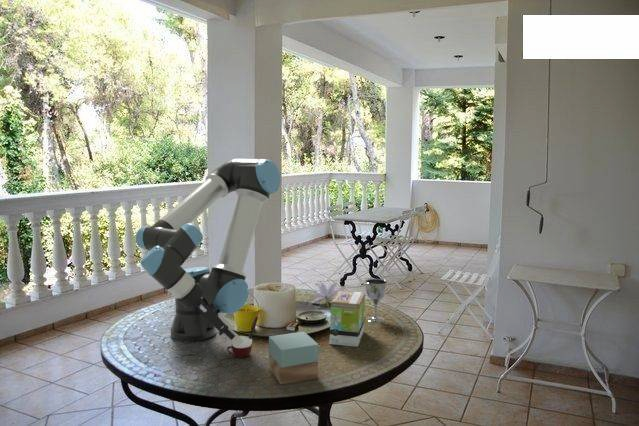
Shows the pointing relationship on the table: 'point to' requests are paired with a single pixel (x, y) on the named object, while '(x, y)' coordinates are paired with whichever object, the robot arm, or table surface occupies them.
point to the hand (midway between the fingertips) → (235, 336)
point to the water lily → (325, 293)
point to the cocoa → (244, 344)
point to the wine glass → (376, 296)
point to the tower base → (293, 371)
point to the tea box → (347, 318)
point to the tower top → (293, 349)
